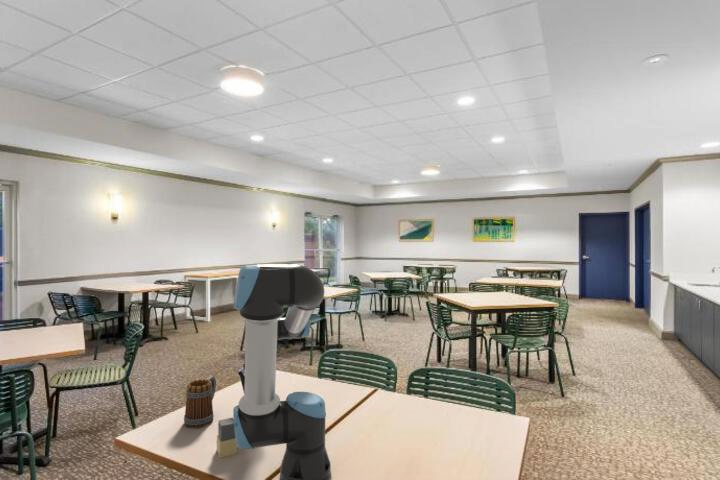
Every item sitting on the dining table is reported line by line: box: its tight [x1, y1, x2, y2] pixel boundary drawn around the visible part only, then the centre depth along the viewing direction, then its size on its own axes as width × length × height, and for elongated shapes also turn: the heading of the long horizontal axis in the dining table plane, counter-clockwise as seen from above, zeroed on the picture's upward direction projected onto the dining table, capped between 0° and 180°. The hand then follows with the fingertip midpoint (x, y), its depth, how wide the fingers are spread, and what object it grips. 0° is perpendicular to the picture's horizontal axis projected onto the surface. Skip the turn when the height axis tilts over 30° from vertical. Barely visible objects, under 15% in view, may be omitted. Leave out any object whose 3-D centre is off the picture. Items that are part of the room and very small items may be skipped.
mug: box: [183, 376, 217, 429], centre depth 155 cm, size 16×11×15 cm
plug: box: [216, 416, 238, 459], centre depth 132 cm, size 5×5×10 cm
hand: (254, 412), depth 149 cm, fingers closed
